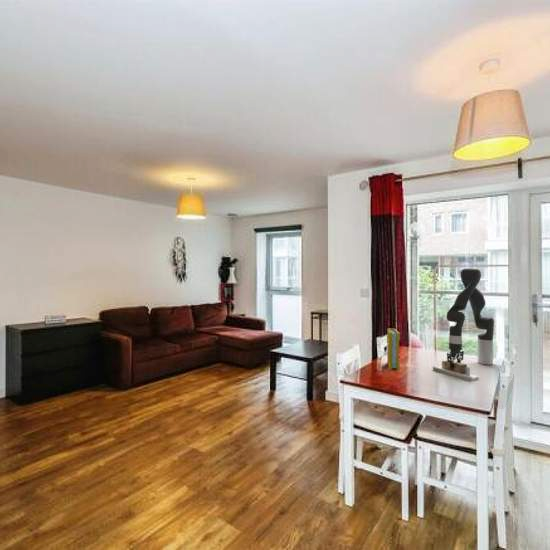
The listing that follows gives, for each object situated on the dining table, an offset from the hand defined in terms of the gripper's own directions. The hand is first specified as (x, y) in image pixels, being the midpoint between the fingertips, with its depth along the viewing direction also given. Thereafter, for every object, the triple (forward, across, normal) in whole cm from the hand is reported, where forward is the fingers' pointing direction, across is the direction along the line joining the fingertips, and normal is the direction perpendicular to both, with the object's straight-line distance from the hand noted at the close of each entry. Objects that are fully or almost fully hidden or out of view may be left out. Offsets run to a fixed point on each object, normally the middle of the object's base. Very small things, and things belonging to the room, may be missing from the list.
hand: (455, 367), depth 224 cm
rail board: (+4, 0, 0) cm, 4 cm away
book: (+4, -20, +33) cm, 39 cm away
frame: (+3, 0, 0) cm, 3 cm away
